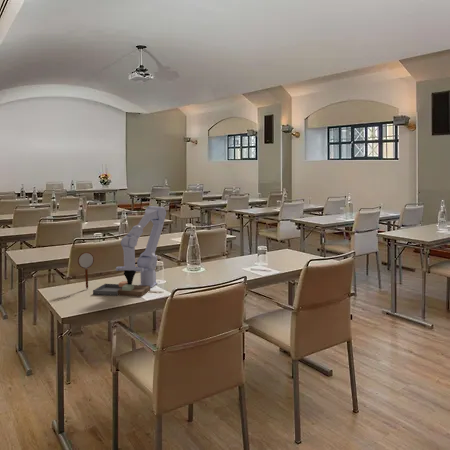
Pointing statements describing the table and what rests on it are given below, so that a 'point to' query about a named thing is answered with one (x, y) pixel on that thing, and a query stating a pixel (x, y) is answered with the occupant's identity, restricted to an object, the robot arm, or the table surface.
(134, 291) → the brown tray
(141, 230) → the robot arm
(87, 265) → the magnifying glass
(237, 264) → the table surface
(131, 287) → the sage tile
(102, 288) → the box
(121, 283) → the terracotta tile
